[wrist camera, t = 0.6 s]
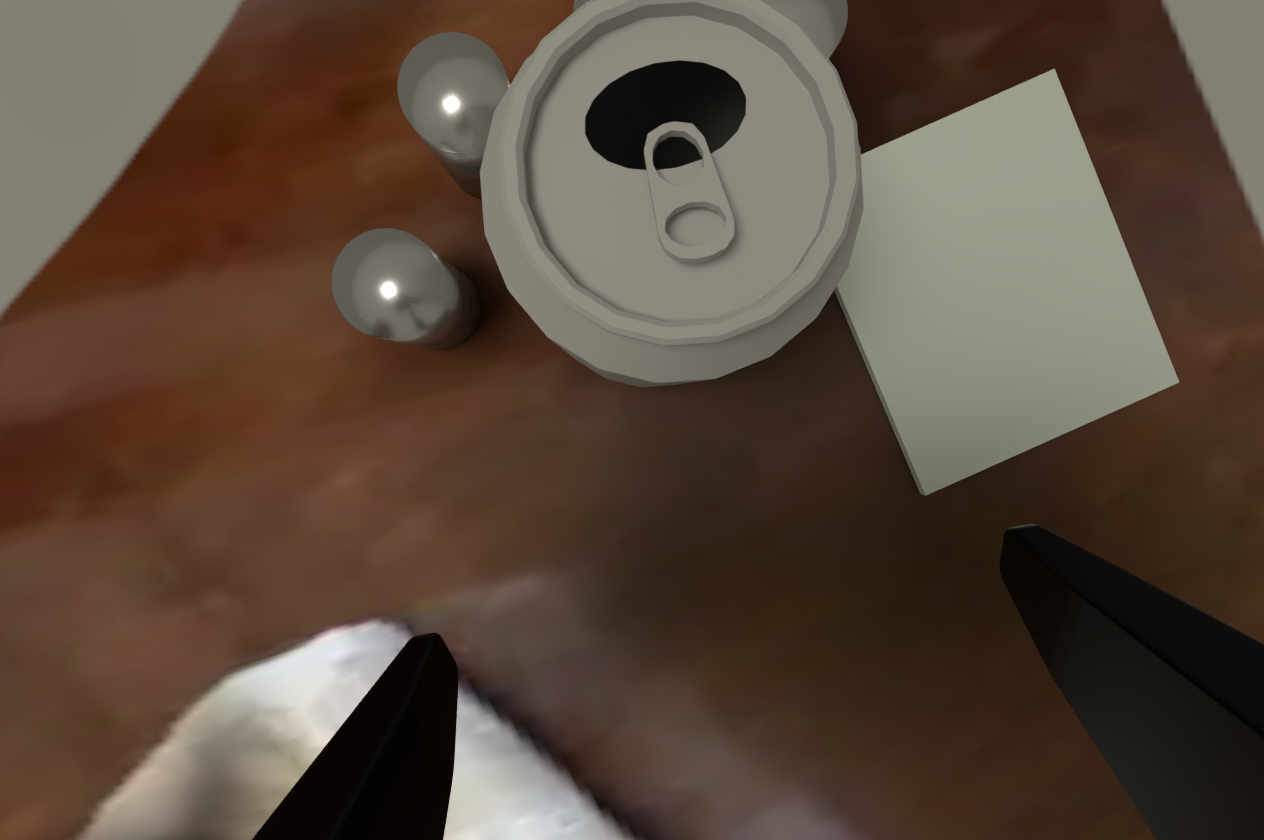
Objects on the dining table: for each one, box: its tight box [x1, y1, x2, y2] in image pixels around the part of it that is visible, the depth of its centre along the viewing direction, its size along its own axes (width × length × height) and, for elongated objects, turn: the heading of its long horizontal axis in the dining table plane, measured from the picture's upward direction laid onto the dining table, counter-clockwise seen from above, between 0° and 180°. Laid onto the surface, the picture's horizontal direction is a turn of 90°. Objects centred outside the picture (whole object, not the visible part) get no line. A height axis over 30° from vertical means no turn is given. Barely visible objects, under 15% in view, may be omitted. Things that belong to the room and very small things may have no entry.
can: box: [480, 0, 864, 387], centre depth 17 cm, size 8×8×12 cm
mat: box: [834, 69, 1179, 496], centre depth 23 cm, size 12×10×1 cm
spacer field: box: [332, 0, 848, 350], centre depth 20 cm, size 10×15×5 cm, turn 97°
